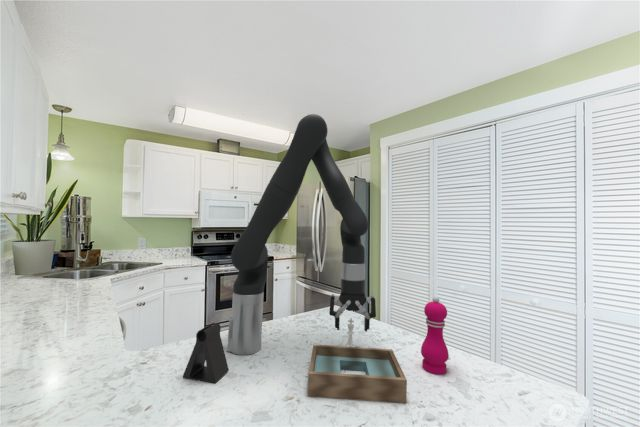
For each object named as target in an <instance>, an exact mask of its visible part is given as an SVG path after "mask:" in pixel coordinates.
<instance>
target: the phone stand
mask: <svg viewBox="0 0 640 427" xmlns="http://www.w3.org/2000/svg"><path fill="white" fill-rule="evenodd" d="M221 328H222V327H221V324H220V323H219V322H216V323H215V322H212V323H210V324H209V325H206V326H205V327H203V328H201V329H200V330H198V331H197V332H196V333H195V334H196V335H195V338H196V339H195V340H196V341H195V345H194V347H193V350H192V352H191V354H190V357H189V359H188V362H187V364H186V367H185V369H184V372H183V375H182V378H183V379H186V380H190V381H197V382H198V381H199V382H203V383H209V384H217V382H218V381H220V380H221V379H222V378H223V377H224V376H225V375H226V374H227V373H228V372H229V371H230V370H229V366H228V362H227V358H226V357H227V356H226V354H225V350H224V345H223V342H222V337H221ZM205 364H206V365H205Z"/></svg>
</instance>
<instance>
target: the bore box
mask: <svg viewBox="0 0 640 427" xmlns="http://www.w3.org/2000/svg"><path fill="white" fill-rule="evenodd" d="M311 351H312V352H311V357H310V362H309V368H308V373H307V374H308V376H307V395H306V396H307V397H312V398H313V397H314V398H327V399H329V398H330V399H340V400H341V399H342V400H354V401H357V400H358V401H367V402H368V401H369V402H381V403H382V402H384V403H397V404H398V403H399V404H407V390H408V389H407V388H408V387H407V386H408V380H407V377H406V375H405V373H404V371H403V369H402V367H401V365H400V363H399V361H398V358H397V357H396V354H395V352H394V350H393V349H391V348H389V349H388V348H375V347H363V346H362V347H361V346H359V347H356V346H354V347H346V345H343V346H342V345H328V344H312V350H311ZM341 371H351V372H352V371H354V372H355V371H356V372H365V374H355V373H354V374H352V373H341Z"/></svg>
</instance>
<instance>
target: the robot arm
mask: <svg viewBox="0 0 640 427" xmlns="http://www.w3.org/2000/svg"><path fill="white" fill-rule="evenodd" d="M328 130H329V129H328V125H327V122H326V121H325V119H324V117H322V116H321V115H319V114H316V113H311V114H310V113H309V114H307V115H305V116H303V117H302V118H301V119H300V120H299V122H298V124H297V127H296V130H295V132H294V134H293V137H292V140H291V142H290V145H289V147H288V148H287V149H288V150H287V151H286V153H285V154H284V156H283V158H282V160H280V163H279V165H278V166H277V168H276V170H275V171H274V172H273V174H272V176H271V178H270V180H269V182H268V183H267V185H266V188H265V190H264V192H263V193H262V196H261V198H260V200H259V201H258V204H257V206H256V207H255V211H254V212H253V214H252V216H251V219H250V220H249V223H248V224H247V226H246V228H245V229H244V231H243V232H242V234H241V235H240V237H239V238H238V240H237V241H236V242H235V245H234V246H233V248H232V250H231V253H230V254H231V255H230V258H231V264H232V265H233V267H234V268H235V269H236V270H238V274H237V277H236V279H235V281H234V282H233V286H232V300H231V301H232V302H231V304H232V305H231V306H232V308H231V317H230V318H229V319H228V333H227V349H226V350H227V352H229V353H232V354H235V355H240V356H241V355H242V356H243V355H244V356H246V355H248V356H249V355H252V354H255V353H257V352H259V351H260V350H261V347H262V335H263V334H262V331H263V313H264V312H263V311H264V294H265V292H264V290H265V285H266V282H267V275H268V263H269V262H268V261H269V251H268V247H267V246H266V244H267V242H268V239H269V238H270V236H271V234H272V232H273V230H275V228H276V227H277V226H278V225H279V223H280V222H281V221H282V220H283V219H284V217H286V215H287V213H288V212H289V211H290V209H291V207H292V205H293V203H294V201H295V199H296V198H297V196H298V194H299V191H300V189H301V186H302V184H303V181H304V178H305V175H306V172H307V169H308V167H309V165H310V163H311V162H313V165H314V167H315V168H316V171H317V173H318V175H319V177H320V179H321V182H322V184H323V187H324V189H325V191H326V193H327V196H328V198H329V200H330V202H331V204H332V207H333V208H334V209H335V210H336V211H337V212H338V213H340V216H341V218H342V220H341V221H340V227H339V230H340V231H339V232H340V239H341V244H342V245H341V246H342V255H341V256H342V257H341V258H342V260H341V269H340V295H335V294H333V293H332V294H331V295H330V302H329V316H332V317H334V328H335V329H336V330H337V331H340V316H341V315H342V314H343V313H344V312H345V311H347V312H352V311H353V312H358V311H360V312H361V314H362V315H363V316H364V317H363V318H364V322H363V323H364V327H363V330H364V332H365V333H366V332H368V331H369V329H370V325H371V324H370V320H371V319H372V318H376V316H377V311H376V308H377V307H376V298H375V296H373V295H371V296H366V266H365V263H366V262H365V261H366V260H365V259H366V250H365V247H364V245H363V244H362V239H361V238H362V236H364V235H365V234H366V233H367V231H368V230H369V219H368V217H367V216H366V214H365V212H364V211H363V209H362V207H361V206H360V204H359V203H358V202H357V201H356V199H355V197H354V194H353V193H352V190H351V187H350V185H349V183H348V182H347V179H346V178H345V175H343V173H342V171H341V170H340V168H339V166H338V165H337V164H336V162H335V160H334V158H333V155H332V153H331V151H330V147H329V145H328V140H327V137H328ZM338 301H339V302H340V303H341V305H340V306H339V307H338V309H337V310H336V311H335V304H336V303H338ZM367 302H368V304H369V305H370V312H368V311H367V309H366V307H365V306H364V305H365V304H366V303H367Z"/></svg>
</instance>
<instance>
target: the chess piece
mask: <svg viewBox="0 0 640 427" xmlns="http://www.w3.org/2000/svg"><path fill="white" fill-rule="evenodd" d="M347 321H348V324H347V328H348V331H347V332H346V334H348V339H347V344H346V345H345V346H346V347H355V346H354V343H353V335H355V332H354V331H353V330H354V327H355V325H354V324H353V323H355V322H354V320H353V318H350V319H349V320H347Z"/></svg>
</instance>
